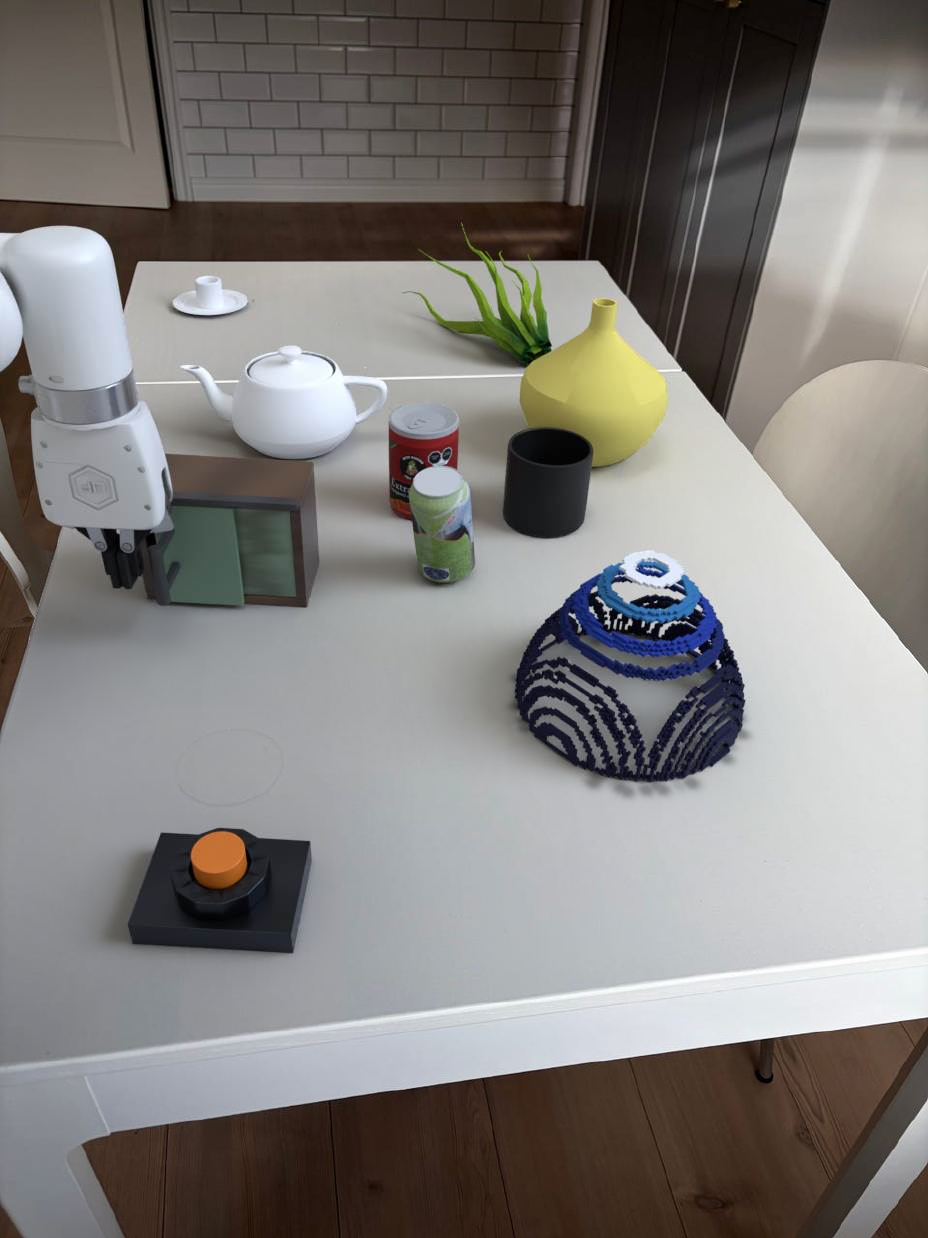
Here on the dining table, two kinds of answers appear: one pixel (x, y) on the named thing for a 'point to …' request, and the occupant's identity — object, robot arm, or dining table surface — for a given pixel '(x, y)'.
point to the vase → (596, 390)
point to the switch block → (223, 897)
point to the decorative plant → (505, 315)
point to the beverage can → (442, 524)
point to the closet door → (198, 557)
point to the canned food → (419, 447)
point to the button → (219, 860)
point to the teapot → (291, 403)
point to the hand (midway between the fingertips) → (127, 580)
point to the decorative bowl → (637, 669)
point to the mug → (547, 481)
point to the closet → (255, 521)
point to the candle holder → (209, 298)
